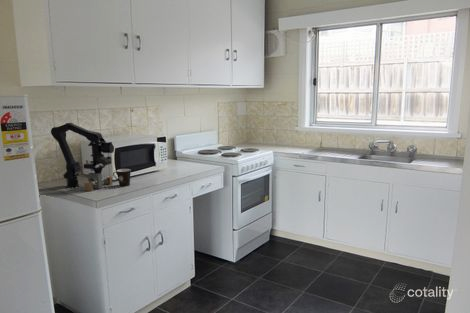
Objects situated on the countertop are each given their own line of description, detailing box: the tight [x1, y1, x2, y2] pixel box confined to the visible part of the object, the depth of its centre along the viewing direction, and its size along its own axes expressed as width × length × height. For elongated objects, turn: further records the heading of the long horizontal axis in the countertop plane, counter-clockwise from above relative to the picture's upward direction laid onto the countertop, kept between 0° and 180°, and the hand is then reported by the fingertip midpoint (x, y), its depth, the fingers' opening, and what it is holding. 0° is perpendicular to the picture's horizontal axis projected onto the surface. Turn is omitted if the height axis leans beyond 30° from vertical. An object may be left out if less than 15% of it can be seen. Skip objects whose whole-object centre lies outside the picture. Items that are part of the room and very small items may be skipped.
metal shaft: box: [83, 175, 113, 192], centre depth 230 cm, size 19×5×5 cm, turn 158°
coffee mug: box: [112, 168, 132, 188], centre depth 235 cm, size 12×9×10 cm
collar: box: [87, 172, 103, 190], centre depth 227 cm, size 3×8×9 cm, turn 68°
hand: (98, 177), depth 230 cm, fingers closed
